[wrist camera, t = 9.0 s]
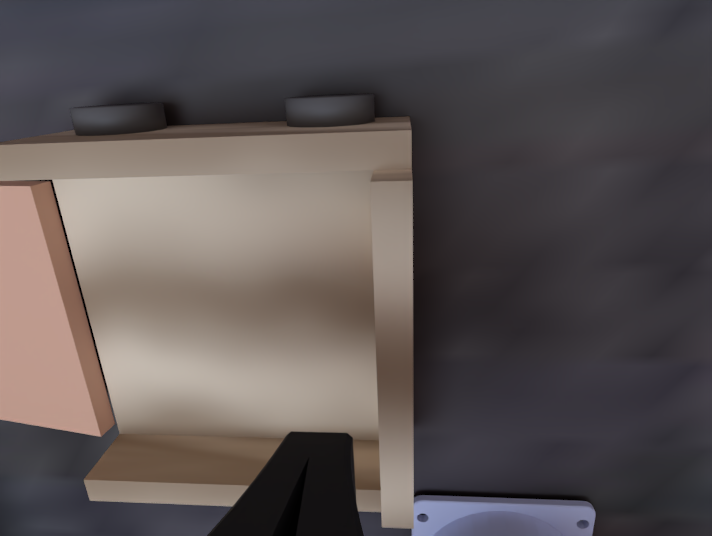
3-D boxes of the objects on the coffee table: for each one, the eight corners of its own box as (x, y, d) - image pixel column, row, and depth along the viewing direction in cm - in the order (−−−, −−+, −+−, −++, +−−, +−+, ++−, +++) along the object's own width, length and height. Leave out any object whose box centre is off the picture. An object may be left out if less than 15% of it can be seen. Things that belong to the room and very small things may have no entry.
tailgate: (30, 186, 16) (-105, 184, 18) (101, 436, 20) (-16, 416, 21) (50, 181, 17) (-81, 179, 18) (115, 423, 20) (1, 405, 22)
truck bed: (411, 443, 22) (413, 569, 16) (151, 436, 23) (70, 552, 17) (409, 91, 17) (412, 99, 11) (72, 106, 18) (-80, 120, 12)
